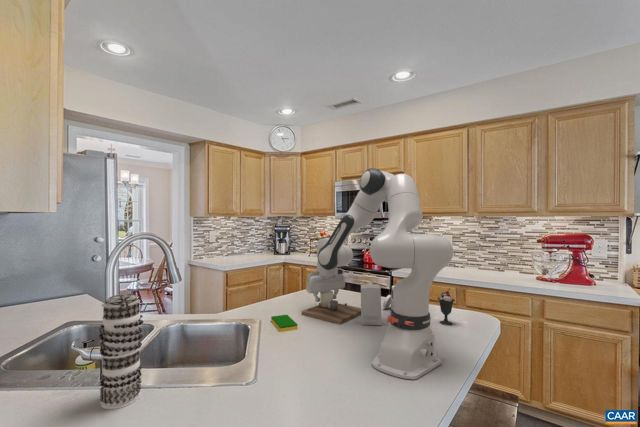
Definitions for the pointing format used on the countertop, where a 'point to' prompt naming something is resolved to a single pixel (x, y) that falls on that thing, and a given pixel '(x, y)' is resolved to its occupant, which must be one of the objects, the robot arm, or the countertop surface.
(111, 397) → the decorative candle
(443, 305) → the sundae
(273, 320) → the dish sponge
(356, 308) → the wooden cutting board
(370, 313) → the skincare box
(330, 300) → the lever
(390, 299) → the spread jar
